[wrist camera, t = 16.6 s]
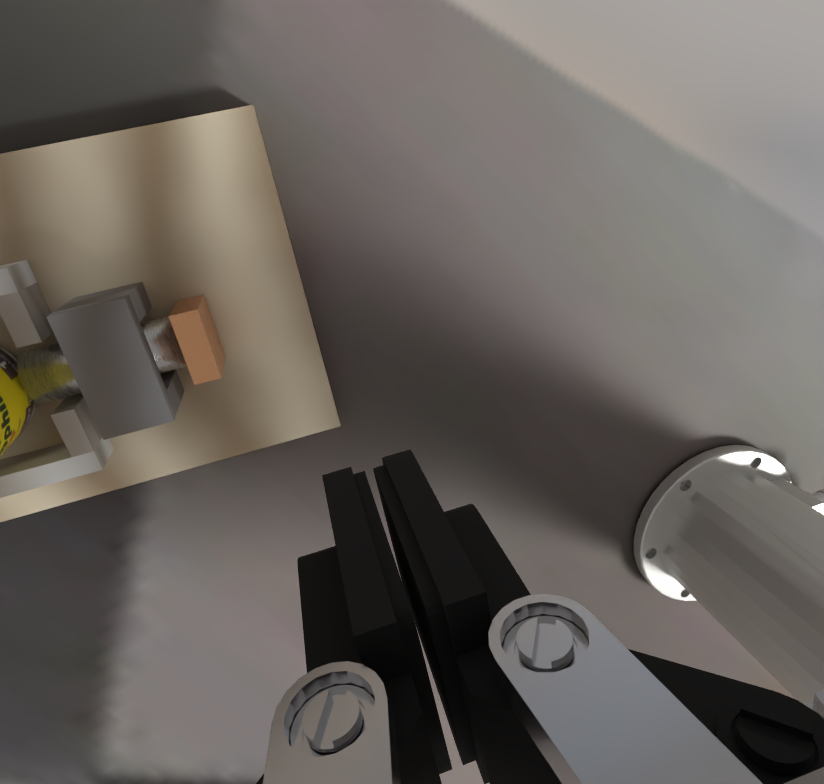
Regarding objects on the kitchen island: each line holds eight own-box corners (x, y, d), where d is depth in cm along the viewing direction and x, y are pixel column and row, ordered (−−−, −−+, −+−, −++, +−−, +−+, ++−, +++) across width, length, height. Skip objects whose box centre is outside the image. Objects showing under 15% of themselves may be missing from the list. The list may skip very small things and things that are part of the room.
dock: (253, 107, 26) (251, 94, 22) (338, 417, 33) (350, 457, 28) (-352, 225, 23) (-505, 239, 18) (-125, 547, 29) (-197, 616, 25)
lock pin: (204, 294, 27) (197, 309, 24) (225, 356, 29) (221, 378, 26) (26, 336, 26) (-3, 357, 23) (57, 400, 27) (32, 427, 24)
